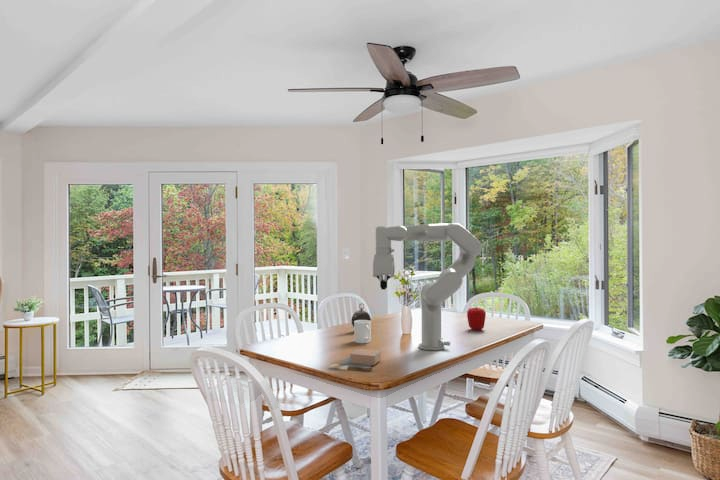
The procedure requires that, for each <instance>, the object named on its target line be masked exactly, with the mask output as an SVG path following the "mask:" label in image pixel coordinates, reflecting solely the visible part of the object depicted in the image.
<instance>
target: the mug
mask: <svg viewBox="0 0 720 480" xmlns="http://www.w3.org/2000/svg"><path fill="white" fill-rule="evenodd" d="M371 325H372V320H371V321H369V320H356V321H354V327H353V333H354V336H353V338H354V343H356V344H364V345H365V344H369V343H370V342H372V341H371V340H372V326H371Z"/></svg>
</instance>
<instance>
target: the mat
mask: <svg viewBox="0 0 720 480" xmlns="http://www.w3.org/2000/svg"><path fill="white" fill-rule="evenodd" d="M338 365H351V366H363V367H373V366H374V365H367V364H356V363H351V362H350V355H349V356H347V358H345V359H343V360H342V361H341V362H339V363H338Z"/></svg>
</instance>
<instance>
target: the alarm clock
mask: <svg viewBox="0 0 720 480" xmlns="http://www.w3.org/2000/svg"><path fill="white" fill-rule="evenodd" d="M361 305H363V307H361ZM358 308H359V309H360V310H356V311H355V312H354V313H353V315H352V316H351V325H352V327H353V328H354V321H356V320H369V321H371V322H372V319H371V316H370V313H369V312H367V311H365V310H364V308H365V305H364V303H360V304H359V307H358Z"/></svg>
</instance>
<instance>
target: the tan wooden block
mask: <svg viewBox="0 0 720 480" xmlns="http://www.w3.org/2000/svg"><path fill="white" fill-rule="evenodd" d="M349 356H350V362H351V363H356V364H367V365H373V366H375V365H376V364H378V363H379V362H380V361H381V360H382V351H381V350H374V349H361V348H357V349H355V350H354V351H353V352H351V353H350V354H349Z"/></svg>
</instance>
